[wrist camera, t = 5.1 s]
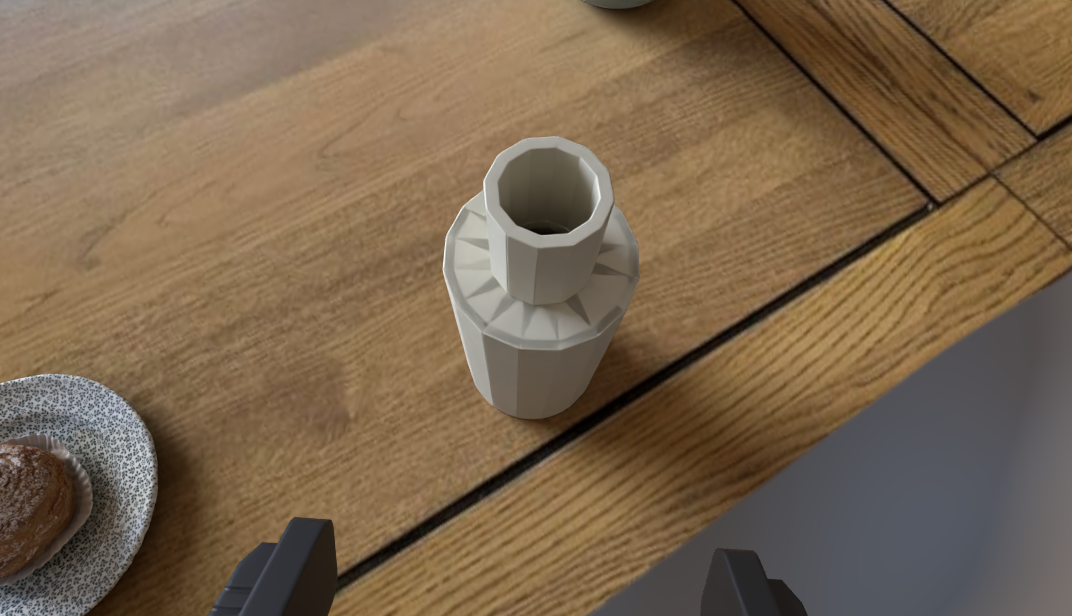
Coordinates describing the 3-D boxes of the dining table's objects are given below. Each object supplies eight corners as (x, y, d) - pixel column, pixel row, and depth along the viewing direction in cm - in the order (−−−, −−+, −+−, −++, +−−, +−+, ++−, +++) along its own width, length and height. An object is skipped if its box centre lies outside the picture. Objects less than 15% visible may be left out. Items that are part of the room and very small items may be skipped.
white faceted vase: (610, 329, 31) (701, 142, 16) (564, 440, 29) (618, 343, 14) (501, 282, 32) (491, 62, 17) (448, 387, 30) (381, 242, 15)
